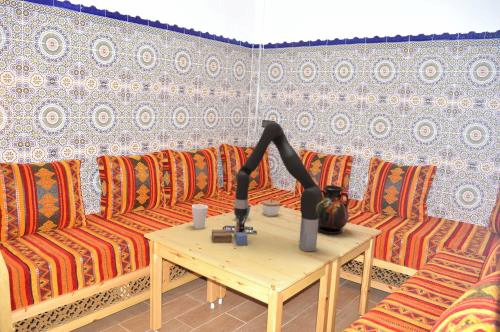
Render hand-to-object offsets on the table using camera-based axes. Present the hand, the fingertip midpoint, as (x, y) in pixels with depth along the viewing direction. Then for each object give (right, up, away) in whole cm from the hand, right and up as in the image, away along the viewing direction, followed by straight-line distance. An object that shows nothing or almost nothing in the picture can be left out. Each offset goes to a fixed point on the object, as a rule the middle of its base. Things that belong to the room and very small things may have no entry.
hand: (239, 235), depth 225 cm
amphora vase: (+55, -1, +19) cm, 59 cm away
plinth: (-10, -1, -6) cm, 12 cm away
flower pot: (0, +4, +35) cm, 35 cm away
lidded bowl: (+20, +5, +49) cm, 53 cm away
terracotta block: (0, -1, 0) cm, 1 cm away
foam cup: (-25, +2, +14) cm, 29 cm away
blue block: (+1, -3, -10) cm, 11 cm away
